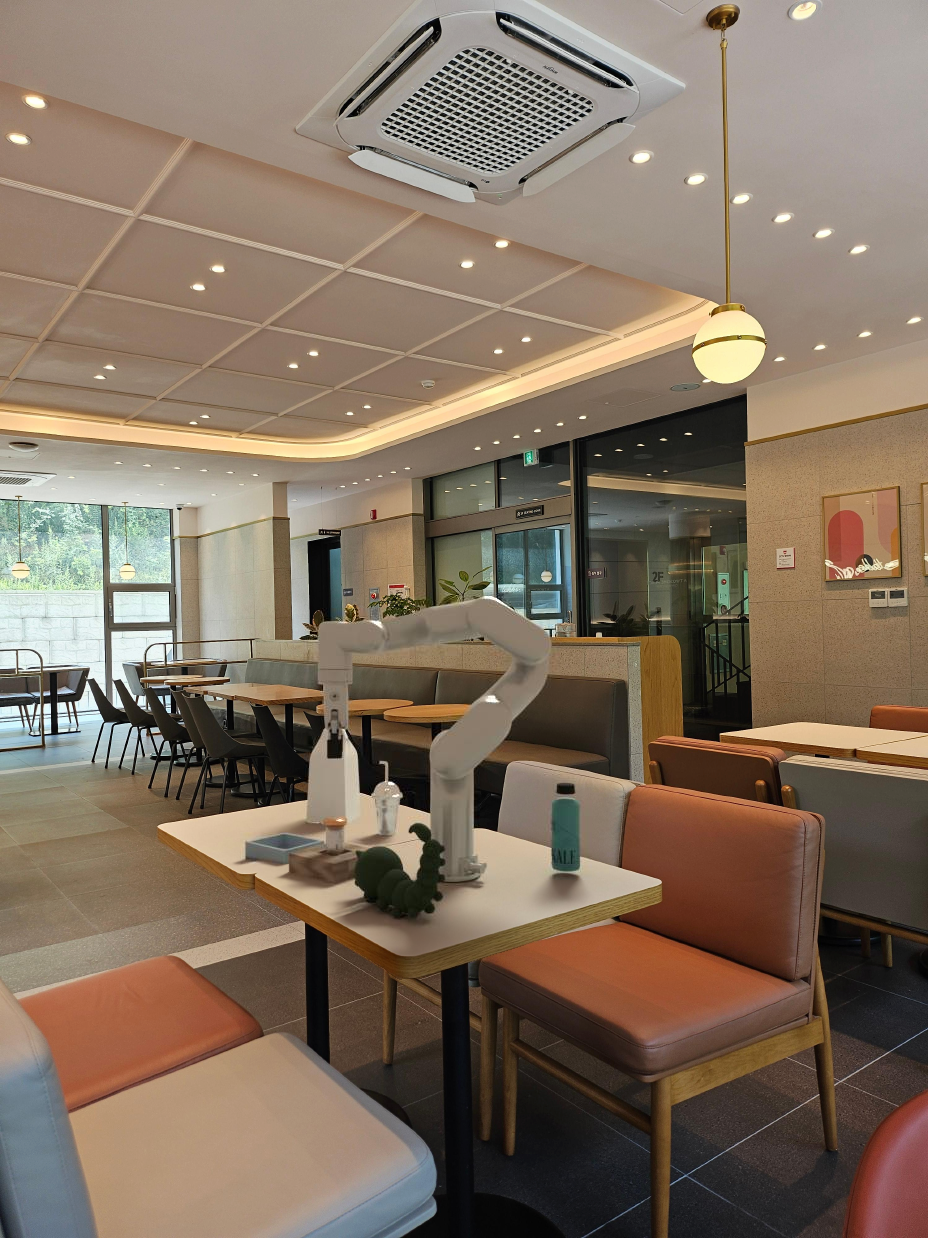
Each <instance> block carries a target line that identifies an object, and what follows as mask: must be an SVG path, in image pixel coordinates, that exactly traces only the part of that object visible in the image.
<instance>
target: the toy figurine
mask: <svg viewBox="0 0 928 1238" xmlns="http://www.w3.org/2000/svg"><path fill="white" fill-rule="evenodd" d="M412 833H414V834H415V835H416V836H417V838H418V839H419V840H420V841H421V842H422V843H423V845H422V848H421V851H422V854H421V855H420V858H419V862H418V863H419V868H418V869H417V871H416V879H415V880H413V879H412V878H411V877H410V875H409V874H408V873H407V871H404V864H403V862H402V860H401V857H400V856H399V855H398V853H397V852H395V851H394V850H393V849H391V848H390V847H387V846H383V845H378V846H377V845H376V846H372V847H368V848H369V849H367V850H366V851H365V852H364V851H359V850H357V851H356V855H357V858H358V860H357V862H356V865H355V870H354V875H355V877H354V885H355V886H356V887H358V888H359V889H360V890H361V891H362V892H363V898H364V899H365V901H366V902H367V903H370V904H373V903H374V904H375V907H376V909H377V910H379V911H383V912H385V911H388V909H389V908H390V907H393V908H392V909H391V916H392V917H393V918H394V919H396V918H398V919H399V918H401V917H403V915H407V916H408V917H409V918H410V919H417V918H418V916H419V914H420V913H421V912H423V911H424V913H425V914H429V915H430V914H434V912H435V910H436V907H435V904H434V903H433V902H432V901H433V900H434V901H436V902H437V903H439V902H441V901H442V900H443V898H444V896H443V892H441V891H440V890H439V888H438V884H439V883H441V884H442V883H445V882H444V881H445V876H444V875H443V874H440V873H439V870H438V869H439V868H440V866H444V865H445V862H446V861H445V859H443V858H440V854H441V853H442V852H444V851H445V847H444V846H443V845H440V843H439V842H438V841H437V840H435V839H431V837H432V834H431V830H430V827H428V826H427V825H426V824H424V823H421V822H416V823H413V824H411V825H410V826H409V828H408V834H412Z"/></svg>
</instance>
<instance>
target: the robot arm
mask: <svg viewBox="0 0 928 1238" xmlns="http://www.w3.org/2000/svg"><path fill="white" fill-rule="evenodd" d="M317 629H318V631H317V659H318V660H317V663H318V664H317V684H318V685H323V715H324V716H323V717H324V719H323V720H324V726H325V727H324V729H327V730H328V740H327V758H328V759H340V758H342V752H343V734H342V729H343V728H344V729H345V731H346V730H347V729H348V728H349V687H348V685H352V684H353V653H354V654H361V655H376V654H381V653H387V652H390V651H397V650H403V649H409V648H415V647H432V646H437V645H439V646H440V645H444V644H449V643H455V642H460V641H467V640H472V639H477V638H484V639H485V640H487V641H489V642H490V643H491V644H493V645H494V646H496V647H498V648H499V649H500V650H502V651H504V652H505V653H507V654H508V655H510V656H511V657H512V661H511V664H510V666H509V667H508V669H507V670H506V672H505V673H504V674H503V675H502V676H501V677H499V679H498V680H497V681H496V682H495V683H494V684H493V685H492V686H491V687H490V688H489V689H487V691H485V693H483V694H482V695H481V696H480V697H478V699H476V700H475V701H474V702H473V703H471V704H470V706H469V708H468V709H467V711H466V713H465V714H464V715H462V717H461V718H459V719H458V720H457V721H456V722H455V723H454V724H453V725H452V726H451V727H450V728H449V729H446V730H443V731H441V732H440V733H438V734H437V735H436V736H435V737H434V739H433V740H432V742H431V745H430V749H429V763H430V802H429V803H430V804H429V805H430V806H429V807H430V810H429V812H430V816H429V817H430V821H429V822H430V825H429V826H430V827H429V829H430V830H431V834H432V837H431V839H435V840H437V841H438V842H439V843H440V845H443V846H444V847H445V851H444V852H442V853H441V854H440V858H443V859H445V861H446V862H445V865H444V866H440V868H439V869H438V870H439V873H440V874H443V875H444V876H445V881H444V882H443V883H456V882H457V883H461V882H467V881H471V880H475V879H477V878H479V877H480V876H481V875H484V874H485V871H486V869H487V866H488V864H487V863H486V862H483V861H479V859H478V857H479V856H478V854H476V853H474V852H475V851H474V850H475V849H474V848H475V847H474V845H475V844H474V843H475V842H474V841H475V840H474V821H475V820H474V813H475V810H474V809H475V808H474V804H475V803H474V800H475V797H474V796H475V794H474V793H475V792H474V791H475V790H474V789H475V787H474V785H475V783H474V782H475V781H474V778H475V777H474V775H475V774H474V769H475V768H476V767H477V766H478V765H480V764H481V762H482V761H484V760H485V759H486V758H487V757H488V756H489V755H490V754H491V753H492V752H493V751H494V750H495V749H496V748H497V747H498V746H499V745H500V744H501V743H502V742H503V741H504V740H505V739H506V738H507V736H508V735H509V733H510V731H511V727H512V724H513V723H512V722H513V721H514V720H515V719H516V718H517V717H518V716H519V715H520V714H521V713H522V712H523V711H524V710H525V709H526V707H528V706H529V704H531V703H532V701H533V700H534V699H535V698H536V697H537V696H538V695H539V693H540V692H541V691H542V689H543V687H544V686H545V683H546V681H547V679H548V673H549V667H550V653H551V651H552V644H553V643H552V640H551V637H550V635H549V633H548V631H547V630H545V629H544V628H542V627H541V626H540V625H538V624H536V623H535V622H533V621H532V620H530V619H529V618H527V617H525V616H524V615H522V614H521V613H519V612H518V611H517V610H515V609H513V608H511V607H510V606H508V605H507V604H505V603H504V602H502V601H501V600H499V599H498V598H496V597H494V596H489V595H488V596H487V595H486V596H481V597H478V598H476V599H475V598H474V599H470V600H466V601H460V602H454V603H453V602H452V603H448V604H441V605H436V606H430V607H426V608H421V609H420V610H418V611H416V612H413V613H412V612H411V613H409V614H405V615H400V616H396V617H389V618H384V619H376V620H372V619H367V620H359V621H351V622H349V621H341V620H340V621H339V620H338V621H336V620H335V621H332V620H330V621H323V622H321V623H320V624H319V625H318V628H317Z"/></svg>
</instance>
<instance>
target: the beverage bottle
mask: <svg viewBox="0 0 928 1238" xmlns="http://www.w3.org/2000/svg"><path fill="white" fill-rule="evenodd" d="M575 787H576V786H575V784H574V783H571V782H559V783H557V784H556V792H555V793H556V794H558V795H565V797H557V798H555V799H554V800H553V801H552V803H551V821H550V824H551V826H550V829H551V840H550V842H551V848H550V849H551V851H550V852H551V853H550V854H551V862H550V863H551V864H550V865H551V867H552V869H553V870H555V871H558V872H566V873H568V872H576V871H579V870H580V867H581V842H580V841H581V837H580V835H581V834H580V833H581V831H580V827H581V826H580V825H581V823H580V822H581V821H580V818H581V817H580V815H581V813H580V812H581V811H580V810H581V809H580V807H581V804H580V802H579V801H578V800H577V799H576V798H573V797H569V796H568V795H575V794H576V788H575ZM566 795H567V797H566Z"/></svg>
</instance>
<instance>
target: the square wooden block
mask: <svg viewBox="0 0 928 1238" xmlns="http://www.w3.org/2000/svg"><path fill="white" fill-rule="evenodd" d="M369 848H370V847H368V846H363V845H358V844H352V843H349V842H344V854H341V855H338V856H331V855H326V843H324V844H322V845H319V846H315V847H311V848H307V849H303V850H300V851H296V852H292V853H289V863H288V872H289V873H292V874H294V875H299V876H301V877H302V876H303V877H308V878H311V879H314V880H319V881H323V882H326V883H331V884H336V883H339V882H343V881H345V880H349V879H351V878H355V875H354V870H355V865H356V862H357V860H358V858H357V855H356V851H357V850H359V851H364V852H365V851H366V850H367V849H369Z"/></svg>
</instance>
